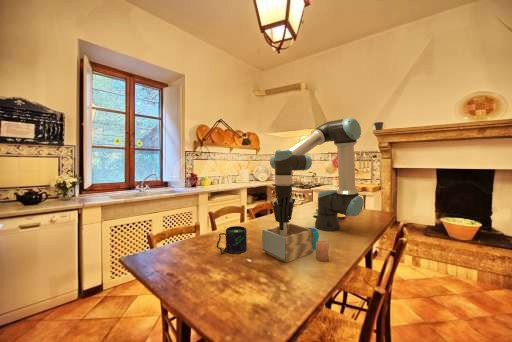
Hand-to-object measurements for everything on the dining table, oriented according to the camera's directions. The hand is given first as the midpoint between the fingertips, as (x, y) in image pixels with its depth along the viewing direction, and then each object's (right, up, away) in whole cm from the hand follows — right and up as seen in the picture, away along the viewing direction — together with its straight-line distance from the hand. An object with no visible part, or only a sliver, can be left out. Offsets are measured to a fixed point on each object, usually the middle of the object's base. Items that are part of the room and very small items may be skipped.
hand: (283, 236), depth 104 cm
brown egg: (+16, -8, -5) cm, 19 cm away
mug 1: (-24, -8, +5) cm, 26 cm away
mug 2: (+15, -8, +11) cm, 20 cm away
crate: (+3, -8, +2) cm, 9 cm away
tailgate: (-5, -7, -3) cm, 9 cm away
